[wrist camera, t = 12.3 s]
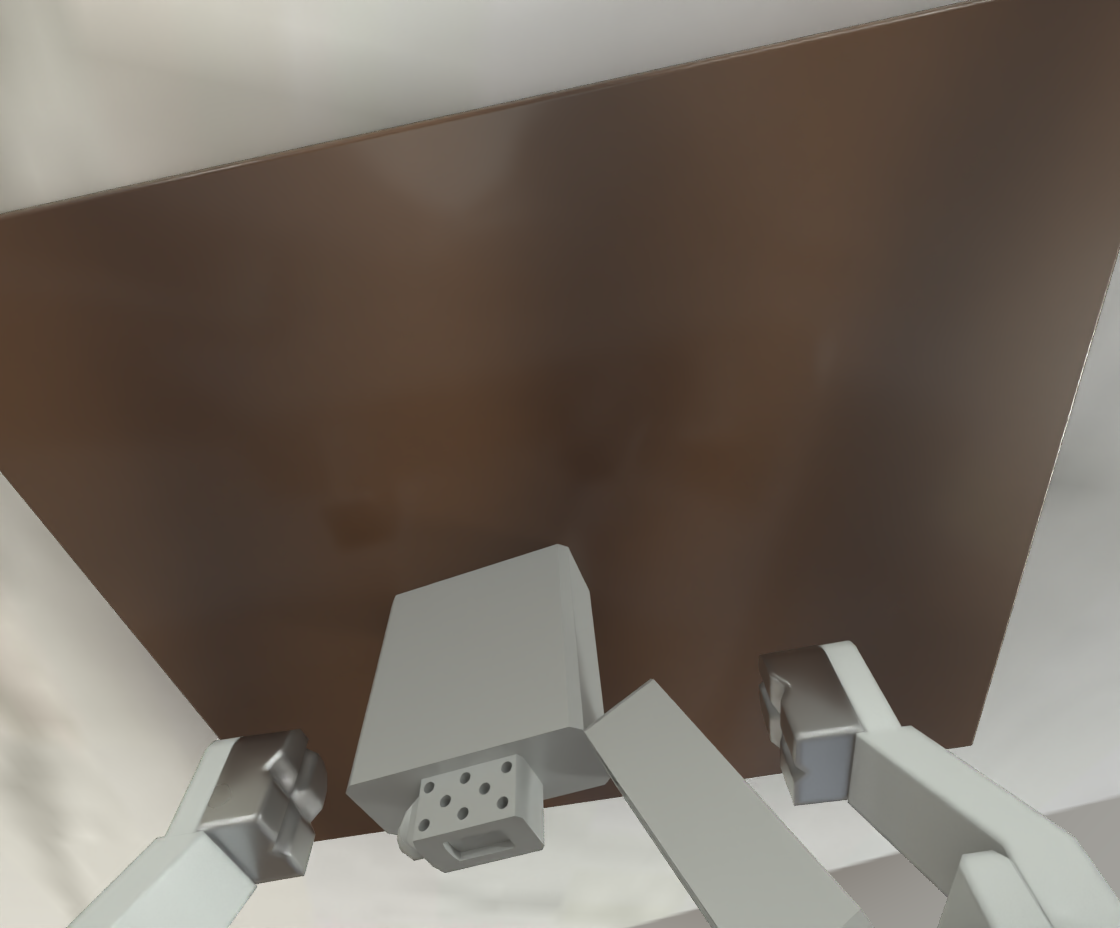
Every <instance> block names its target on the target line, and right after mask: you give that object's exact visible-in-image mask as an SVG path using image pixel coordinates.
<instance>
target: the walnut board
mask: <svg viewBox="0 0 1120 928" xmlns="http://www.w3.org/2000/svg"><path fill="white" fill-rule="evenodd" d="M1119 250H1120V0H969V1H964V2H960V3H955V4H951V5H946V6H942V7H937V8H933V9H928V10H923V11H919V12H914V13H910V14H905V15H901V16H896V17H892V18H887V19H883V20H878V21H873V22H869V23H864V24H860V25H855V26H851V27H846V28H842V29H837V30H833V31H828V32H823V33H819V34H814V35H810V36H805V37H801V38H796V39H792V40H787V41H783V42H778V43H774V44H769V45H764V46H760V47H755V48H751V49H746V50H742V51H737V52H733V53H728V54H724V55H719V56H714V57H710V58H705V59H701V60H696V61H692V62H687V63H683V64H678V65H674V66H669V67H665V68H660V69H655V70H651V71H646V72H642V73H637V74H633V75H628V76H624V77H619V78H615V79H610V80H605V81H601V82H596V83H592V84H587V85H583V86H578V87H574V88H569V89H565V90H560V91H556V92H551V93H546V94H542V95H537V96H533V97H528V98H524V99H519V100H515V101H510V102H506V103H501V104H496V105H492V106H487V107H483V108H478V109H474V110H469V111H465V112H460V113H456V114H451V115H447V116H442V117H437V118H433V119H428V120H424V121H419V122H415V123H410V124H406V125H401V126H397V127H392V128H387V129H383V130H378V131H374V132H369V133H365V134H360V135H356V136H351V137H347V138H342V139H337V140H333V141H328V142H324V143H319V144H315V145H310V146H306V147H301V148H297V149H292V150H288V151H283V152H278V153H274V154H269V155H265V156H260V157H256V158H251V159H247V160H242V161H238V162H233V163H228V164H224V165H219V166H215V167H210V168H206V169H201V170H197V171H192V172H188V173H183V174H179V175H174V176H169V177H165V178H160V179H156V180H151V181H147V182H142V183H138V184H133V185H129V186H124V187H119V188H115V189H110V190H106V191H101V192H97V193H92V194H88V195H83V196H79V197H74V198H70V199H65V200H60V201H56V202H51V203H47V204H42V205H38V206H33V207H29V208H24V209H20V210H15V211H10V212H6V213H1V214H0V471H1V473H2V474H3V475H4V476H5V477H6V479H7V480H8V481H9V482H10V484H11V485H12V486H13V487H14V488H15V490H16V491H17V492H18V493H19V495H20V496H21V497H22V498H23V499H24V501H25V502H26V503H27V504H28V506H29V507H30V508H31V509H32V510H33V512H34V513H35V514H36V515H37V517H38V518H39V519H40V520H41V521H42V523H43V524H44V525H45V526H46V528H47V529H48V530H49V531H50V532H51V534H52V535H53V536H54V537H55V539H56V540H57V541H58V542H59V543H60V545H61V546H62V547H63V548H64V550H65V551H66V552H67V553H68V554H69V556H70V557H71V558H72V559H73V561H74V562H75V563H76V564H77V565H78V567H79V568H80V569H81V570H82V572H83V573H84V574H85V575H86V576H87V578H88V579H89V580H90V581H91V583H92V584H93V585H94V586H95V587H96V589H97V590H98V591H99V592H100V593H101V595H102V596H103V597H104V598H105V600H106V601H107V602H108V603H109V604H110V606H111V607H112V608H113V609H114V611H115V612H116V613H117V614H118V615H119V617H120V618H121V619H122V620H123V622H124V623H125V624H126V625H127V626H128V628H129V629H130V630H131V631H132V633H133V634H134V635H135V636H136V637H137V639H138V640H139V641H140V642H141V644H142V645H143V646H144V647H145V648H146V650H147V651H148V652H149V653H150V655H151V656H152V657H153V658H154V659H155V661H156V662H157V663H158V664H159V666H160V667H161V668H162V669H163V670H164V672H165V673H166V674H167V675H168V677H169V678H170V679H171V680H172V681H173V683H174V684H175V685H176V686H177V688H178V689H179V690H180V691H181V692H182V694H183V695H184V696H185V697H186V699H187V700H188V701H189V702H190V703H191V705H192V706H193V707H194V708H195V710H196V711H197V712H198V713H199V714H200V716H201V717H202V718H203V719H204V721H205V722H206V723H207V724H208V725H209V727H210V728H211V729H212V730H213V732H214V733H215V734H216V735H217V736H218V738H219V739H220V740H223V739H229V738H236V737H242V736H251V735H258V734H265V733H273V732H280V731H287V730H295V729H301V730H302V732H303V733H304V734H305V735H306V737H307V738H308V739H309V740H308V743H307V746H306V748H307V749H309V750H311V751H313V752H316V753H318V754H319V755H320V757H321V758H322V760H323V761H324V764H325V767H326V771H327V793H326V797H325V801H324V805H323V809H322V810H321V811H320V812H319V813H318V815H317V816H316V817H315V818H314V819H313V820H312V822H311V825H312V827H313V830H314V832H315V838H314V842H315V841H321V840H328V839H335V838H342V837H349V836H356V835H362V834H369V833H376V832H383V831H385V830H384V829H383V828H381V827H380V826H379V825H378V824H377V823H376V822H375V821H374V820H373V819H372V818H371V817H370V816H369V815H368V814H367V813H366V812H365V811H364V810H363V809H362V808H360V807H359V806H358V805H357V804H356V803H355V802H354V801H353V800H352V799H351V798H350V797H349V796H348V795H347V794H346V791H347V786H348V782H349V778H350V774H351V770H352V766H353V762H354V758H355V754H356V750H357V746H358V742H359V738H360V734H361V729H362V725H363V721H364V717H365V713H366V709H367V705H368V701H369V697H370V693H371V689H372V685H373V681H374V677H375V672H376V668H377V664H378V660H379V656H380V652H381V648H382V644H383V640H384V636H385V632H386V628H387V624H388V620H389V615H390V611H391V607H392V603H393V601H394V598H395V596H396V595H398V594H401V593H405V592H408V591H411V590H414V589H417V588H420V587H423V586H427V585H430V584H433V583H436V582H439V581H442V580H445V579H449V578H452V577H455V576H458V575H461V574H464V573H467V572H471V571H474V570H477V569H480V568H483V567H486V566H489V565H493V564H496V563H499V562H502V561H505V560H508V559H511V558H515V557H518V556H521V555H524V554H527V553H530V552H533V551H537V550H540V549H543V548H546V547H549V546H552V545H555V544H560V545H563V546H566V547H568V548H569V550H570V552H571V554H572V556H573V558H574V560H575V562H576V564H577V567H578V569H579V571H580V573H581V575H582V577H583V579H584V581H585V583H586V585H587V587H588V589H589V591H590V599H591V608H592V616H593V625H594V633H595V641H596V650H597V658H598V667H599V675H600V683H601V692H602V700H603V709H604V714H605V713H606V712H608V711H609V710H610V709H612V708H613V707H614V706H615V705H617V704H618V703H619V702H621V701H622V700H623V699H625V698H626V697H627V696H629V695H630V694H631V693H633V692H634V691H635V690H637V689H638V688H639V687H640V686H642V685H643V684H644V683H646V682H647V681H648V680H650V679H654V680H655V681H656V682H657V683H658V684H659V686H660V687H661V688H662V689H663V690H664V691H665V692H666V693H667V694H668V696H669V697H670V698H671V699H672V700H673V701H674V702H675V703H676V704H677V706H678V707H679V708H680V709H681V710H682V711H683V712H684V713H685V714H686V715H687V717H688V718H689V719H690V720H691V721H692V722H693V723H694V724H695V725H696V727H697V728H698V729H699V730H700V731H701V732H702V733H703V734H704V735H705V737H706V738H707V739H708V740H709V741H710V742H711V743H712V744H713V745H714V746H715V748H716V749H717V750H718V751H719V752H720V753H721V754H722V755H723V756H724V758H725V759H726V760H727V761H728V762H729V763H730V764H731V765H732V766H733V767H734V769H735V770H736V771H737V772H738V773H739V774H740V775H741V776H742V777H743V779H746V778H753V777H760V776H766V775H773V774H780V773H782V770H781V768H780V748H779V747H778V746H776V745H775V744H774V743H773V742H771V740H770V737H769V734H768V731H767V728H766V725H765V721H764V718H763V715H762V709H761V704H760V698H759V685H760V684H761V682H762V681H763V680H762V677H761V674H760V672H759V669H758V659H759V656H760V655H761V654H767V653H773V652H778V651H784V650H790V649H796V648H801V647H807V646H813V645H818V646H819V645H824V644H830V643H836V642H842V641H851V642H852V643H853V644H854V645H855V646H856V647H857V649H858V651H859V653H860V654H861V656H862V658H863V660H864V661H865V663H866V665H867V667H868V669H869V670H870V672H871V674H872V676H873V677H874V679H875V681H876V683H877V684H878V686H879V688H880V690H881V691H882V693H883V695H884V697H885V698H886V700H887V702H888V704H889V705H890V707H891V709H892V711H893V712H894V714H895V716H896V718H897V720H898V721H899V723H900V725H901V727H902V726H913V727H914V728H915V729H917V730H918V731H920V732H921V733H923V734H924V735H926V736H927V737H929V738H930V739H932V740H933V741H935V742H936V743H938V744H939V745H940V746H942V747H943V748H945V749H951V748H958V747H965V746H971V745H972V744H973V741H974V737H975V734H976V731H977V727H978V724H979V721H980V717H981V714H982V711H983V707H984V704H985V700H986V697H987V694H988V690H989V687H990V684H991V680H992V677H993V674H994V670H995V667H996V663H997V660H998V657H999V653H1000V650H1001V647H1002V643H1003V640H1004V637H1005V633H1006V630H1007V626H1008V623H1009V620H1010V616H1011V613H1012V610H1013V606H1014V603H1015V600H1016V596H1017V593H1018V589H1019V586H1020V583H1021V579H1022V576H1023V573H1024V569H1025V566H1026V563H1027V559H1028V556H1029V552H1030V549H1031V546H1032V542H1033V539H1034V536H1035V532H1036V529H1037V526H1038V522H1039V519H1040V515H1041V512H1042V509H1043V505H1044V502H1045V499H1046V495H1047V492H1048V489H1049V485H1050V482H1051V478H1052V475H1053V472H1054V468H1055V465H1056V462H1057V458H1058V455H1059V452H1060V448H1061V445H1062V441H1063V438H1064V435H1065V431H1066V428H1067V425H1068V421H1069V418H1070V415H1071V411H1072V408H1073V404H1074V401H1075V398H1076V394H1077V391H1078V388H1079V384H1080V381H1081V377H1082V374H1083V371H1084V367H1085V364H1086V361H1087V357H1088V354H1089V351H1090V347H1091V344H1092V340H1093V337H1094V334H1095V330H1096V327H1097V324H1098V320H1099V317H1100V314H1101V310H1102V307H1103V303H1104V300H1105V297H1106V293H1107V290H1108V287H1109V283H1110V280H1111V277H1112V273H1113V270H1114V266H1115V263H1116V260H1117V256H1118V253H1119ZM616 797H623V796H622V794H621V793H620V791H619V790H618V788H617V787H616V785H615V783H614V782H613V780H612V779H611V778H610V779H609V780H608V782H607V783H606V784H605V785H601V786H597V787H593V788H589V789H585V790H581V791H577V792H573V793H569V794H565V795H561V796H557V797H554V798H550V799H546V800H543V808H547V807H554V806H561V805H568V804H575V803H582V802H588V801H595V800H602V799H609V798H616Z"/></svg>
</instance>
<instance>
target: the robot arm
mask: <svg viewBox="0 0 1120 928" xmlns="http://www.w3.org/2000/svg"><path fill="white" fill-rule="evenodd" d="M758 669H759V672H760V674H761V677H762V680H763V681H762V682H761V684H760V685H759V698H760V704H761V709H762V715H763V718H764V721H765V725H766V728H767V731H768V734H769V737H770V740H771V742H773V743H774V744H775V745H776V746H778V747H779V748H780V768H781V770H782V773H783V776H784V779H785V781H786V784H787V787H788V789H789V792H790V795H791V798H792V800H793V803H794V806H796V805H805V804H814V803H822V802H831V801H840V800H848V803H849V804H850V805H851V806H852V807H853V808H854V809H855V810H856V811H857V812H858V813H859V814H860V815H861V816H862V817H864V818H865V819H866V820H867V821H868V822H869V823H870V824H871V825H872V826H873V827H874V828H875V829H876V830H877V831H878V832H879V833H880V834H881V835H882V836H883V837H884V838H886V839H887V840H888V841H889V842H890V843H891V844H892V845H893V846H894V847H895V848H896V849H897V850H898V851H899V852H900V853H901V854H903V855H904V857H905V858H907V859H908V860H909V861H910V862H911V863H912V864H913V865H914V866H915V867H916V868H917V869H918V870H919V871H920V872H921V873H922V874H923V875H924V876H925V877H926V878H928V879H929V880H930V881H931V882H932V883H933V884H934V885H935V886H936V887H937V888H938V889H939V890H940V891H941V892H942V893H943V894H944V895H945V896H946V897H947V901H946V904H945V907H944V910H943V913H942V916H941V918H940V921H939V924H938V927H937V928H1120V900H1119V899H1118V898H1117V896H1116V895H1115V893H1114V892H1113V890H1112V889H1111V887H1110V886H1109V885H1108V883H1107V882H1106V880H1105V879H1104V878H1103V876H1102V875H1101V873H1100V872H1099V870H1098V869H1097V868H1096V866H1095V865H1094V863H1093V862H1092V861H1091V859H1090V858H1089V856H1088V855H1087V853H1086V852H1085V851H1084V849H1083V848H1082V846H1081V845H1080V843H1079V842H1078V841H1077V839H1076V838H1075V837H1074V836H1073V835H1071V834H1070V833H1068V832H1067V831H1066V830H1064V829H1063V828H1061V827H1060V826H1058V825H1057V824H1055V823H1054V822H1052V821H1051V820H1049V819H1048V818H1046V817H1045V816H1043V815H1042V814H1041V813H1039V812H1038V811H1036V810H1035V809H1033V808H1032V807H1030V806H1029V805H1027V804H1026V803H1024V802H1023V801H1021V800H1020V799H1018V798H1017V797H1016V796H1014V795H1013V794H1011V793H1010V792H1008V791H1007V790H1005V789H1004V788H1002V787H1001V786H999V785H998V784H996V783H995V782H993V781H992V780H991V779H989V778H988V777H986V776H985V775H983V774H982V773H980V772H979V771H977V770H976V769H974V768H973V767H971V766H970V765H968V764H967V763H965V762H964V761H963V760H961V759H960V758H958V757H957V756H955V755H954V754H952V753H951V752H949V751H948V750H946V749H945V748H943V747H942V746H940V745H939V744H938V743H936V742H935V741H933V740H932V739H930V738H929V737H927V736H926V735H924V734H923V733H921V732H920V731H918V730H917V729H915V728H914V727H913V726H902V727H901V725H900V723H899V721H898V720H897V718H896V716H895V714H894V712H893V711H892V709H891V707H890V705H889V704H888V702H887V700H886V698H885V697H884V695H883V693H882V691H881V690H880V688H879V686H878V684H877V683H876V681H875V679H874V677H873V676H872V674H871V672H870V670H869V669H868V667H867V665H866V663H865V661H864V660H863V658H862V656H861V654H860V653H859V651H858V649H857V647H856V646H855V645H854V644H853V643H852V642H851V641H842V642H836V643H830V644H824V645H819V646H818V645H813V646H807V647H801V648H796V649H790V650H784V651H778V652H773V653H767V654H761V655H760V656H759V659H758ZM308 740H309V739H308V738H307V737H306V735H305V734H304V733H303V732H302V730H301V729H295V730H287V731H280V732H273V733H265V734H258V735H251V736H242V737H236V738H229V739H223V740H216V741H214V742H213V743H212V744H211V745H210V746H209V747H208V748H207V749H206V750H205V752H204V754H203V756H202V758H201V760H200V763H199V765H198V767H197V769H196V771H195V773H194V775H193V777H192V780H191V782H190V784H189V786H188V788H187V790H186V792H185V794H184V796H183V799H182V801H181V803H180V805H179V807H178V809H177V811H176V813H175V816H174V818H173V820H172V822H171V824H170V826H169V828H168V830H167V833H166V835H165V836H164V837H159V838H156V839H155V840H154V841H153V842H152V843H151V844H150V845H149V846H148V847H147V848H146V849H145V850H144V851H143V852H142V853H141V854H140V855H139V856H138V857H137V858H136V859H135V860H134V861H133V862H132V863H131V864H130V865H129V866H128V867H127V868H126V869H125V870H124V871H123V872H122V873H121V874H120V875H119V876H118V877H117V878H116V879H115V880H114V881H113V882H112V883H111V884H110V885H109V886H108V887H106V888H105V889H104V890H103V891H102V892H101V893H100V894H99V895H98V896H97V897H96V898H95V899H94V900H93V901H92V902H91V903H90V904H89V905H88V906H87V907H86V908H85V909H84V910H83V911H82V912H81V913H80V914H79V915H78V916H77V917H76V918H75V919H74V920H73V921H72V922H71V923H70V924H69V925H68V926H67V927H66V928H228V927H229V926H230V924H231V923H232V921H233V920H234V919H235V917H236V916H237V914H238V913H239V912H240V910H241V909H242V907H243V906H244V905H245V903H246V902H247V900H248V899H249V898H250V896H251V895H252V893H253V892H254V891H255V889H256V888H257V885H256V884H259V883H265V882H270V881H276V880H282V879H288V878H293V877H299V876H304V874H305V871H306V867H307V864H308V860H309V856H310V853H311V849H312V846H313V842H314V838H315V832H314V830H313V827H312V825H311V822H312V820H313V819H314V818H315V817H316V816H317V815H318V813H319V812H320V811H321V810H322V809H323V805H324V801H325V797H326V793H327V771H326V767H325V764H324V761H323V760H322V758H321V757H320V755H319V754H318V753H316V752H313V751H311V750H309V749H307V748H306V746H307V743H308Z"/></svg>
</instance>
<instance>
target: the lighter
mask: <svg viewBox="0 0 1120 928" xmlns="http://www.w3.org/2000/svg"><path fill="white" fill-rule="evenodd" d="M610 778H611V779H612V780H613V782H614V783H615V785H616V787H617V788H618V790H619V791H620V793H621V794H622V796H623V797H624V799H625V800H626V802H627V803H628V805H629V806H630V808H631V809H632V810H633V812H634V813H635V815H636V816H637V818H638V819H639V821H640V822H641V824H642V825H643V827H644V828H645V830H646V831H647V833H648V834H649V836H650V837H651V839H652V840H653V842H654V843H655V845H656V846H657V847H658V849H659V850H660V852H661V853H662V855H663V856H664V858H665V859H666V861H667V862H668V864H669V865H670V867H671V868H672V870H673V871H674V873H675V874H676V876H677V877H678V879H679V880H680V882H681V883H682V884H683V886H684V887H685V889H686V890H687V892H688V893H689V895H690V896H691V898H692V899H693V901H694V902H695V904H696V905H697V907H698V908H699V910H700V911H701V913H702V914H703V915H704V917H705V918H706V920H707V921H708V923H709V924H710V926H711V927H712V928H874V926H873V925H872V924H871V922H870V921H869V919H868V918H867V916H866V915H865V914H864V912H863V911H862V909H861V908H860V907H859V906H858V905H857V904H856V902H855V901H854V900H853V899H852V898H851V897H850V896H849V895H848V894H847V893H846V892H845V890H844V889H843V888H842V887H841V886H840V885H839V884H838V883H837V881H836V880H835V879H834V878H833V877H832V876H831V875H830V874H829V873H828V872H827V870H826V869H825V868H824V867H823V866H822V865H821V864H820V863H819V862H818V860H817V859H816V858H815V857H814V856H813V855H812V854H811V853H810V852H809V850H808V849H807V848H806V847H805V846H804V845H803V844H802V843H801V842H800V841H799V839H798V838H797V837H796V836H795V835H794V834H793V833H792V832H791V831H790V829H789V828H788V827H787V826H786V825H785V824H784V823H783V822H782V821H781V819H780V818H779V817H778V816H777V815H776V814H775V813H774V812H773V811H772V810H771V808H770V807H769V806H768V805H767V804H766V803H765V802H764V801H763V800H762V798H761V797H760V796H759V795H758V794H757V793H756V792H755V791H754V790H753V789H752V787H751V786H750V785H749V784H748V783H747V782H746V781H745V780H744V779H743V777H742V776H741V775H740V774H739V773H738V772H737V771H736V770H735V769H734V767H733V766H732V765H731V764H730V763H729V762H728V761H727V760H726V759H725V758H724V756H723V755H722V754H721V753H720V752H719V751H718V750H717V749H716V748H715V746H714V745H713V744H712V743H711V742H710V741H709V740H708V739H707V738H706V737H705V735H704V734H703V733H702V732H701V731H700V730H699V729H698V728H697V727H696V725H695V724H694V723H693V722H692V721H691V720H690V719H689V718H688V717H687V715H686V714H685V713H684V712H683V711H682V710H681V709H680V708H679V707H678V706H677V704H676V703H675V702H674V701H673V700H672V699H671V698H670V697H669V696H668V694H667V693H666V692H665V691H664V690H663V689H662V688H661V687H660V686H659V684H658V683H657V682H656V681H655V680H654V679H650V680H648V681H647V682H646V683H644V684H643V685H642V686H640V687H639V688H638V689H637V690H635V691H634V692H633V693H631V694H630V695H629V696H627V697H626V698H625V699H623V700H622V701H621V702H619V703H618V704H617V705H615V706H614V707H613V708H612V709H610V710H609V711H608V712H606V713H605V714H604V709H603V700H602V692H601V683H600V675H599V667H598V658H597V650H596V641H595V633H594V625H593V616H592V608H591V599H590V591H589V589H588V587H587V585H586V583H585V581H584V579H583V577H582V575H581V573H580V571H579V569H578V567H577V564H576V562H575V560H574V558H573V556H572V554H571V552H570V550H569V548H568V547H566V546H563V545H560V544H555V545H552V546H549V547H546V548H543V549H540V550H537V551H533V552H530V553H527V554H524V555H521V556H518V557H515V558H511V559H508V560H505V561H502V562H499V563H496V564H493V565H489V566H486V567H483V568H480V569H477V570H474V571H471V572H467V573H464V574H461V575H458V576H455V577H452V578H449V579H445V580H442V581H439V582H436V583H433V584H430V585H427V586H423V587H420V588H417V589H414V590H411V591H408V592H405V593H401V594H398V595H396V596H395V598H394V601H393V603H392V607H391V611H390V615H389V620H388V624H387V628H386V632H385V636H384V640H383V644H382V648H381V652H380V656H379V660H378V664H377V668H376V672H375V677H374V681H373V685H372V689H371V693H370V697H369V701H368V705H367V709H366V713H365V717H364V721H363V725H362V729H361V734H360V738H359V742H358V746H357V750H356V754H355V758H354V762H353V766H352V770H351V774H350V778H349V782H348V786H347V791H346V794H347V795H348V796H349V797H350V798H351V799H352V800H353V801H354V802H355V803H356V804H357V805H358V806H359V807H360V808H362V809H363V810H364V811H365V812H366V813H367V814H368V815H369V816H370V817H371V818H372V819H373V820H374V821H375V822H376V823H377V824H378V825H379V826H380V827H381V828H383V829H384V830H385V831H386V832H387V833H389V834H394V835H398V836H397V841H398V844H399V848H400V850H401V851H402V852H403V853H404V854H406V855H407V856H409V857H410V858H411V859H413V860H414V861H415V860H419V859H423V858H425V859H426V860H427V861H428V862H429V863H430V864H431V865H432V866H433V867H435V868H437V869H439V870H440V871H442V872H444V873H447V872H451V871H456V870H460V869H464V868H468V867H472V866H477V865H481V864H485V863H489V862H493V861H498V860H502V859H506V858H510V857H514V856H519V855H523V854H527V853H531V852H535V851H540V850H542V849H543V847H544V809H543V800H546V799H550V798H554V797H557V796H561V795H565V794H569V793H573V792H577V791H581V790H585V789H589V788H593V787H597V786H601V785H605V784H606V783H607V782H608V780H609V779H610Z"/></svg>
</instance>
